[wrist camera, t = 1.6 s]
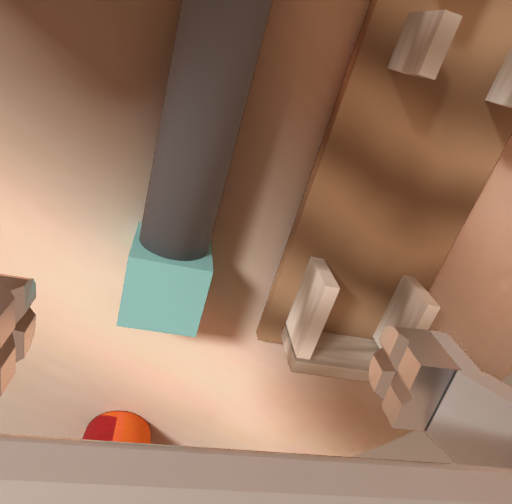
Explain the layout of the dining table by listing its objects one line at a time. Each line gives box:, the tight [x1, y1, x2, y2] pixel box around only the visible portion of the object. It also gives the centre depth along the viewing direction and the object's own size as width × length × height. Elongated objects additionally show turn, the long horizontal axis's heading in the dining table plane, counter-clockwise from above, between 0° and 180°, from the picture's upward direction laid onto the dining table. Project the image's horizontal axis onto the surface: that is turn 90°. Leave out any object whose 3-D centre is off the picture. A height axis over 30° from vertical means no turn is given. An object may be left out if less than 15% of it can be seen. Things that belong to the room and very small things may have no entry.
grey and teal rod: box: [117, 0, 273, 337], centre depth 24 cm, size 28×5×5 cm, turn 164°
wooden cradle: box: [256, 0, 512, 382], centre depth 27 cm, size 30×12×5 cm, turn 164°
